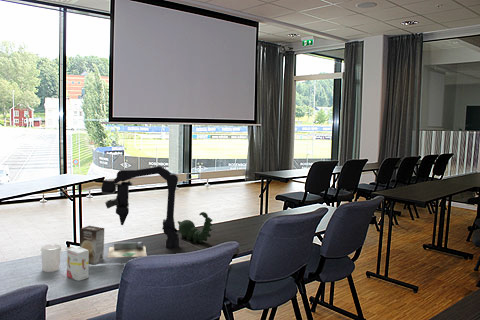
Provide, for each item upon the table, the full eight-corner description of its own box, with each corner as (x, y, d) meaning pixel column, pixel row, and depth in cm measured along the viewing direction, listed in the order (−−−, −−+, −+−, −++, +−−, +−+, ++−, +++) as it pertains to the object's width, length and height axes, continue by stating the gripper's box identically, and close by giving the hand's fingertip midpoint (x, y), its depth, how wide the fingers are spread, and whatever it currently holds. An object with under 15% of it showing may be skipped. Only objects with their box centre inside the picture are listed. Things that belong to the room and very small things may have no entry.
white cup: (53, 273, 173) (53, 250, 172) (36, 271, 174) (37, 248, 174) (64, 267, 180) (65, 245, 180) (48, 265, 182) (49, 243, 181)
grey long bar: (143, 247, 212) (143, 241, 211) (143, 249, 208) (143, 243, 208) (114, 248, 208) (114, 242, 208) (114, 250, 204) (114, 244, 204)
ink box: (65, 276, 170) (66, 248, 170) (76, 273, 174) (77, 246, 174) (78, 281, 166) (78, 252, 165) (88, 278, 170) (89, 250, 169)
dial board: (145, 248, 215) (145, 245, 215) (146, 258, 198) (146, 255, 198) (109, 249, 210) (109, 246, 210) (107, 259, 194) (107, 257, 194)
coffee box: (78, 262, 188) (79, 228, 187) (88, 258, 194) (88, 225, 193) (95, 265, 185) (95, 230, 184) (104, 261, 191) (105, 227, 190)
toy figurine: (213, 246, 230) (182, 233, 245) (217, 213, 228) (185, 203, 242) (201, 249, 222) (170, 236, 237) (205, 215, 220) (173, 204, 235)
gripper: (107, 190, 218) (106, 219, 219) (105, 196, 200) (104, 228, 201) (128, 191, 221) (128, 219, 222) (129, 196, 203) (128, 227, 204)
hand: (122, 223), depth 212 cm, fingers open, 6 cm apart
